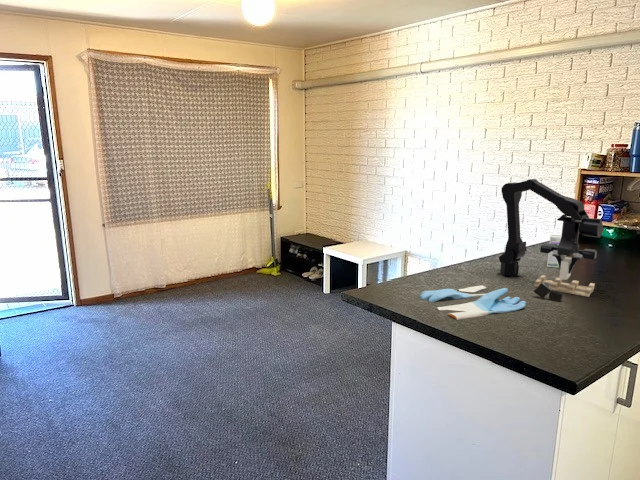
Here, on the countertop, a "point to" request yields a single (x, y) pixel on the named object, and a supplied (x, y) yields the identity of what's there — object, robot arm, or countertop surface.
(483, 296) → the rubber gloves
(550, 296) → the black joined square panels
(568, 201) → the robot arm
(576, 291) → the slotted rack
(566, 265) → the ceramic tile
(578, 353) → the countertop surface
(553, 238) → the syrup box
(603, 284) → the countertop surface
